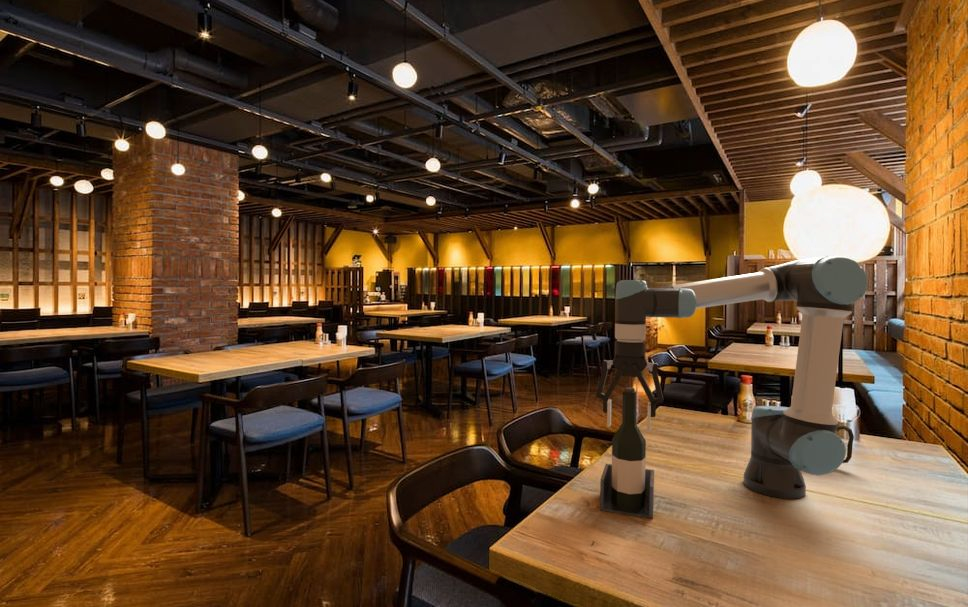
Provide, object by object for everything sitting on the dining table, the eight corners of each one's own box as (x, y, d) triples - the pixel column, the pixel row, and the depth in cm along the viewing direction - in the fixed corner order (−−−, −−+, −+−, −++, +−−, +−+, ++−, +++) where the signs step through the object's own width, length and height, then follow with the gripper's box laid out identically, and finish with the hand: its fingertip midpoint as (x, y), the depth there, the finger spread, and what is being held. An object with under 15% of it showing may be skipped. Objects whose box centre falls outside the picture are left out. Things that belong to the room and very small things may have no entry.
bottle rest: (653, 499, 128) (654, 470, 128) (652, 519, 117) (653, 486, 117) (605, 492, 132) (605, 463, 132) (600, 510, 122) (600, 479, 121)
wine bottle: (647, 512, 120) (648, 392, 119) (612, 509, 121) (614, 390, 120) (642, 497, 128) (644, 385, 127) (610, 495, 129) (611, 384, 128)
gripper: (675, 340, 123) (674, 427, 123) (589, 337, 130) (588, 419, 131) (676, 343, 116) (674, 436, 116) (584, 339, 123) (583, 426, 124)
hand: (628, 427), depth 124 cm, fingers open, 9 cm apart
